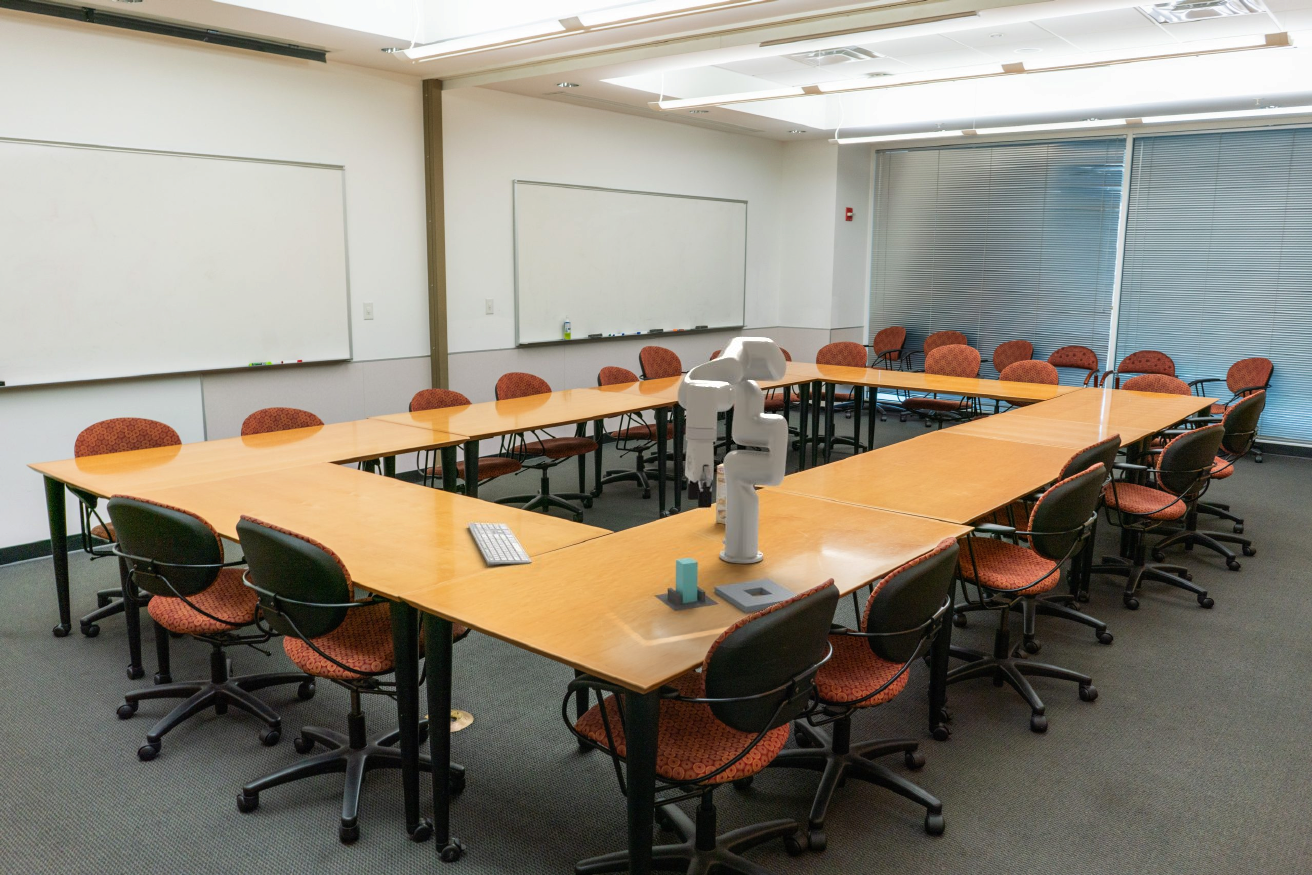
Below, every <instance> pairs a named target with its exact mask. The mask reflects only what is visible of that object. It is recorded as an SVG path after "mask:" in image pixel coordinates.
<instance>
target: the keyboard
mask: <svg viewBox="0 0 1312 875" xmlns="http://www.w3.org/2000/svg"><path fill="white" fill-rule="evenodd" d="M467 525H468V529H469V531H470V533H471V535H472V537H473V539H474V541H475V542H476V545H477V547H478V548H479V550H480V552H481V555H482V556H483V558H484V560H485V561H486V563H487V566H489V567H490V566H491V567H492V566H499V565H523V564H532V559H530V556H529V555H528V554H527V552H526V551H525V550H524V547H522V546H523V545H521V543H520V542H519V540H518V539H517V537H516V536H515V535H514V533H513V532H512V530H511V529H510V528H509V526H508V524H506V523H488V522H487V523H483V522H468V523H467Z"/></svg>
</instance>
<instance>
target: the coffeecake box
mask: <svg viewBox="0 0 1312 875" xmlns="http://www.w3.org/2000/svg"><path fill="white" fill-rule="evenodd" d="M752 486H753V487H754V485H752ZM715 494H716V495H715V496H716V497H715V498H716V499H715V501H716V502H715V504H716V505H715V523H716V524H718V523H719V524H723V525H726V483H725V475H724V468H723V463H721V464H719V465H716V493H715Z"/></svg>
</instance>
